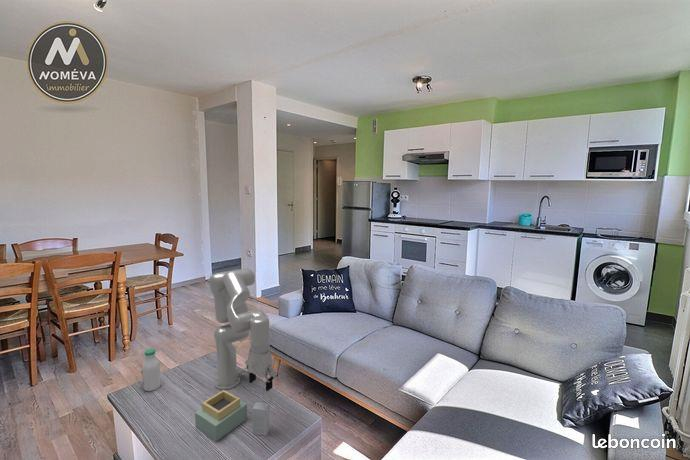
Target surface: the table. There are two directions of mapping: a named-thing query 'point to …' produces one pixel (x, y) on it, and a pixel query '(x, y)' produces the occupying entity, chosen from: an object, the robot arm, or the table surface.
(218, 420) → the green yellow rimmed box
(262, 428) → the skincare box
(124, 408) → the table surface
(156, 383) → the milk bottle
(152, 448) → the table surface
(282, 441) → the table surface
